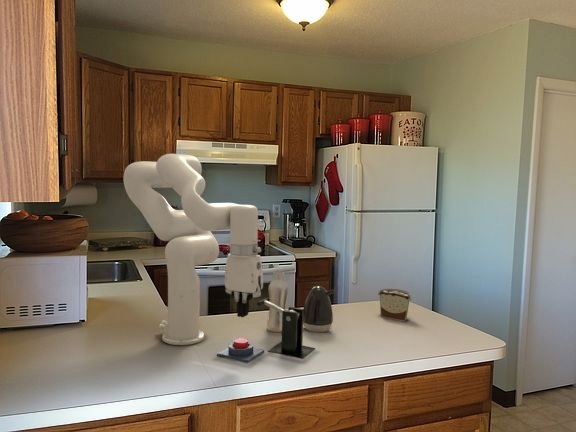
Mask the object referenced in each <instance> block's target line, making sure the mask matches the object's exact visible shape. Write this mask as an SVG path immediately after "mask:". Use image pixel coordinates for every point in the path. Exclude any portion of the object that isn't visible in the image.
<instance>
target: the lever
mask: <svg viewBox="0 0 576 432" xmlns="http://www.w3.org/2000/svg"><path fill="white" fill-rule="evenodd" d="M269 301H270V299H269V297H266V298H263V299H262V300H259V301H257V306H259V307H261V306H263V305H264V306H267V307H268V308H269V307H270V308H272V309H274V310H276V311H278V312H280V313H282V311H283V310H285V309H283V308H281V307H279V306H276V305H274V304H272V303H270V302H269ZM286 311H288V310H287V309H286ZM290 311H292V312H296V311H294V310H290ZM299 315H300V313H298V318H299Z"/></svg>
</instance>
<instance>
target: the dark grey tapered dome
mask: <svg viewBox="0 0 576 432" xmlns="http://www.w3.org/2000/svg"><path fill="white" fill-rule="evenodd" d="M334 293H336V290H335V289H330V290H327V289H325V287H323V286H322V285H316V286H313V287H312V288H311V289H310V290H309V292H308V295H307V296H306V299H305V302H304V304H303V309H304V313H303V328H305V330H307V331H308V332H312V333H327V332H329V330H330V329H331V327H332V324H333V322H334V314H333V313H334V311H333V305H332V302H331V298H330V296H329V295H332V294H334Z"/></svg>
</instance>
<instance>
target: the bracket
mask: <svg viewBox="0 0 576 432" xmlns="http://www.w3.org/2000/svg"><path fill="white" fill-rule="evenodd" d="M286 310H287V309H286ZM286 310H283V311H282V332H281V341H280V342H279V343H277V344H275V345H274V346H272V347H271V348H269V349H268V350H267V352H269V353H271V354H277V355H282V356H287V357H291V358H296V359H301V360H304V359H305V358H306V357H307V356H308V355H310V354H311V353H312V352H313V351H315V350H316V347H312V346H307V345H303V336H304V324H303V313H304V308H301V307H300V308H299V307H293V306H289V307H288V310H287V311H286ZM290 310H294V311H296V312H292V311H290ZM298 313H300V315H299V318H298Z"/></svg>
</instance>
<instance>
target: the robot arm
mask: <svg viewBox="0 0 576 432" xmlns="http://www.w3.org/2000/svg"><path fill="white" fill-rule="evenodd" d="M202 170H203V168H202V163H201V162H200V160H199V159H198V158H197V157H196V156H194V155H192V154H181V153H167V154H163V155H161V156H160V157H159V158H158V159H157V161H145V160H144V161H143V160H141V161H135V162H132V163H130V164H128V165H127V166H126V167H125V169H124V172H123V185H124V188H125V193H126V194H127V196H128V198H129V199H130V200H131V202H132V203H133V204H134V205H135V206H136V207H137V209H138V210H139V212H141V214H142V215H143V217H144V219H145V220H146V222H147V223H148V225H149V227H150V228H151V230H152V231H153V233H154V234H155V235H156V237H157V238H158V239H159V240H160V241H163V242H167V244H166V245H165V249H164V258H165V263H166V269H167V320H161V322H160V324H159V325H158V329H160V330H164V333H163V334H162V337H161V338H162V342H164V343H166V344H168V345H171V346H189V345H190V346H191V345H194V344H198V343H200V342H202V341H204V339H205V333H204V332H203V331H202V330H200V318H201V317H200V312H201V311H200V310H201V308H200V307H201V305H200V304H201V281H200V280H201V279H200V276H199V274H198V272H197V271H196V268H195V267H199V266H204V265H208V264H211V263H214V262H215V261H216V260H217V259H218V258H219V254H220V246H219V243H218V240H217V239H216V237H215V236H214V234H213V232H214V231H224V230H225V231H226V230H229V253H228V254H227V256H226V257H227V258H226V263H225V270H224V287H225V293H227V294H229V295H231V296H232V298H234V302H235V303H236V315H237V317H238V318H245V317H247V316H249V313H250V302H251V301H252V300H253V299H255V298H259V297H261V296H262V292H261V290H263V289H264V273H263V264H262V258H261V254H259V253H261V252H262V247H259V243H258V239H259V238H258V235H259V233H258V232H259V231H258V230H259V210H258V207H257V206H255V205H252V204H238V203H234V202H213V203H212V202H211V203H210V202H209V203H208V201H206V200H205V199H204V198H202V197H201V195H202V194H203V193H204V192H205V189H206V180H205V179H204V177H203V176H202V172H203V171H202ZM169 188H172V189H173V190H174V191H175V192H176V193H177V195H179V196H180V197H181V198H180V199H181V200H180V201H181V202H180V203H181V208H182V209H175V208H173V207H172V206H171V205H170V203H168V201H167V199H166V197H164V196H163V195H162V194H161V193H159V192H158V191H156V190H155V189H169Z"/></svg>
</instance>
